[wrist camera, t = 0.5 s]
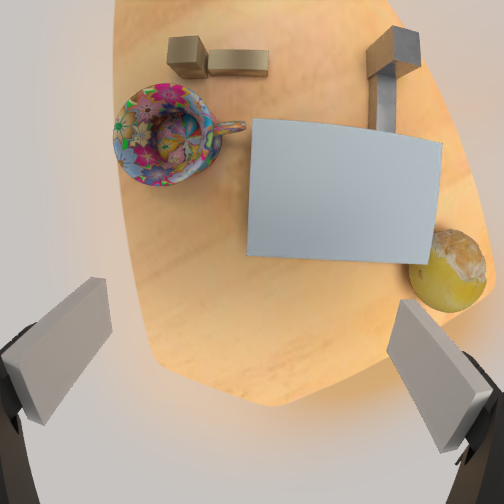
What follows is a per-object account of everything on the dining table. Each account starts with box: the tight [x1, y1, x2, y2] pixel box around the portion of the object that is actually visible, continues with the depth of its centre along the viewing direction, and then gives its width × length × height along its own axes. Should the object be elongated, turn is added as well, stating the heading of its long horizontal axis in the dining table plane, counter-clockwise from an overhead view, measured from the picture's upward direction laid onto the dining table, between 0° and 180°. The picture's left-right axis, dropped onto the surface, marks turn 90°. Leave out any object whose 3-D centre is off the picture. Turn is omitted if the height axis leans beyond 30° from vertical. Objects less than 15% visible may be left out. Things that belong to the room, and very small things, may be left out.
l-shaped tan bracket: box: [167, 36, 269, 79], centre depth 30 cm, size 10×3×7 cm, turn 87°
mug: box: [113, 83, 246, 186], centre depth 31 cm, size 12×9×11 cm
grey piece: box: [366, 25, 421, 133], centre depth 30 cm, size 19×7×9 cm, turn 177°
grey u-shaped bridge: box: [247, 118, 442, 265], centre depth 33 cm, size 13×19×8 cm
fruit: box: [409, 230, 486, 313], centre depth 34 cm, size 10×11×10 cm
